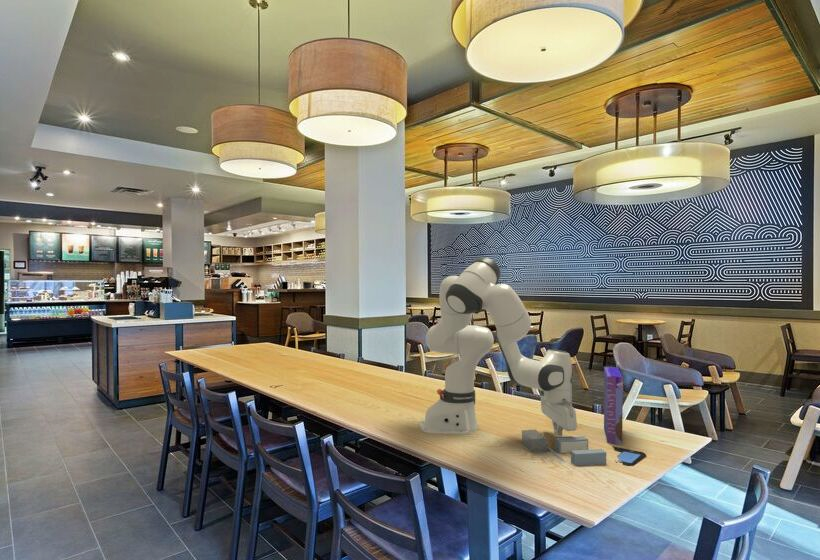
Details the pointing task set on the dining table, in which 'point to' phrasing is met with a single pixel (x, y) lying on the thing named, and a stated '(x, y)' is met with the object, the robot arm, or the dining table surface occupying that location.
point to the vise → (585, 456)
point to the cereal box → (613, 404)
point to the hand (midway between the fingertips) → (558, 434)
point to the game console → (629, 456)
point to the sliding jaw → (571, 443)
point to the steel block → (534, 441)
